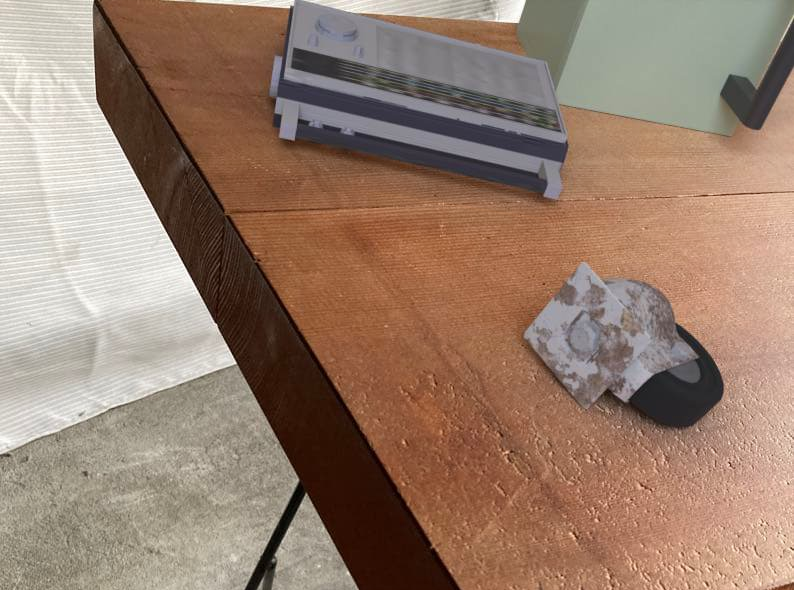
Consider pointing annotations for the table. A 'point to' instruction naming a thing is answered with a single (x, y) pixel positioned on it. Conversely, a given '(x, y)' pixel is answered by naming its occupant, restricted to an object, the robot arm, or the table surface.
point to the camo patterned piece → (625, 348)
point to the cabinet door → (679, 61)
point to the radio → (418, 99)
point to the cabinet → (548, 30)
